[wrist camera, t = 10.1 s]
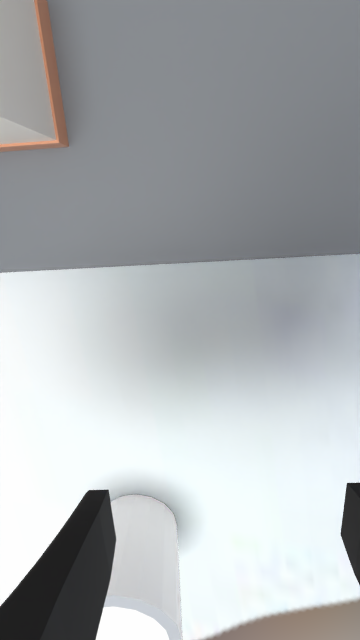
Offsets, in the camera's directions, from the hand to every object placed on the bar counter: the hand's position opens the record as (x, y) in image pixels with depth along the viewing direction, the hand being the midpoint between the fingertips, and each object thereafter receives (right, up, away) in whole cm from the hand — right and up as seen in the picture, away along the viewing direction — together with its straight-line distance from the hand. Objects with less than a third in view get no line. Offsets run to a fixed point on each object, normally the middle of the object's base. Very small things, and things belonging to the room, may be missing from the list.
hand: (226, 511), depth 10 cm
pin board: (-3, +17, +5) cm, 18 cm away
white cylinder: (-4, -9, +15) cm, 18 cm away
